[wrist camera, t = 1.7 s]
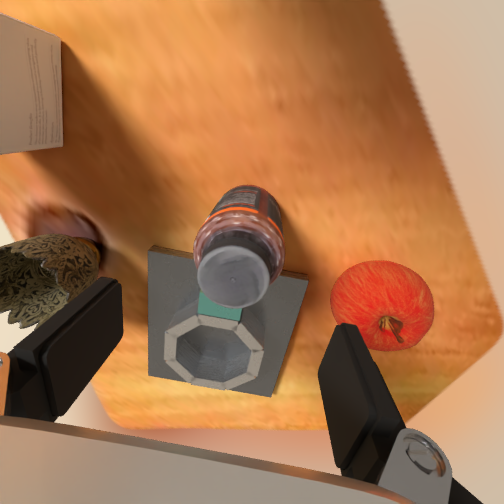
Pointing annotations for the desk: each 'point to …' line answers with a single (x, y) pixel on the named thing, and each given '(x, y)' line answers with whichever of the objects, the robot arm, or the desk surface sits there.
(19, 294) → the cup
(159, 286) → the hub plate
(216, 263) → the supplement bottle
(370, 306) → the apple
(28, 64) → the skincare box
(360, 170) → the desk surface
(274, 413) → the desk surface
